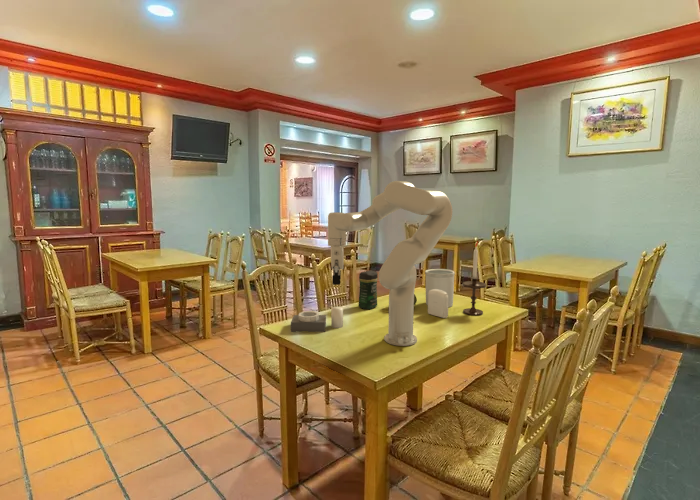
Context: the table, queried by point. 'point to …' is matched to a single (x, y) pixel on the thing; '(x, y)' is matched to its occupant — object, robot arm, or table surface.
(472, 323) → the table surface
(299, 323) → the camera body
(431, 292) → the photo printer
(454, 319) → the table surface
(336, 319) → the white cylinder
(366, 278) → the coffee jar
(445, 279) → the utensil holder
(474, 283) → the candlestick
